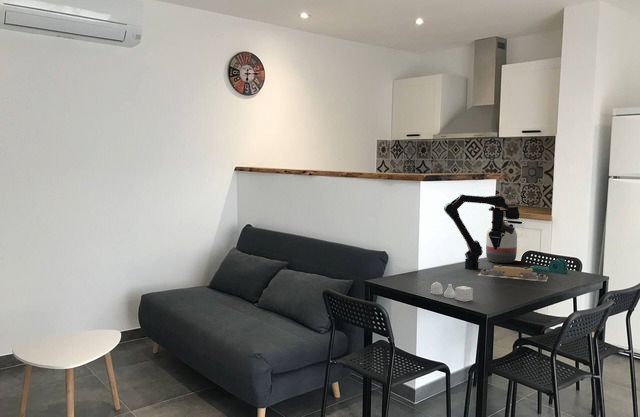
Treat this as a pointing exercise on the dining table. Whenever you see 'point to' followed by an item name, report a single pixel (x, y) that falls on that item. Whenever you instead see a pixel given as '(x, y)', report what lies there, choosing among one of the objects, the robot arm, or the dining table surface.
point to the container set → (453, 292)
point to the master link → (512, 270)
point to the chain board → (514, 277)
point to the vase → (502, 248)
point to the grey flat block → (534, 276)
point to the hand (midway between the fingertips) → (497, 248)
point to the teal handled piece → (553, 267)
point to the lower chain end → (491, 272)
